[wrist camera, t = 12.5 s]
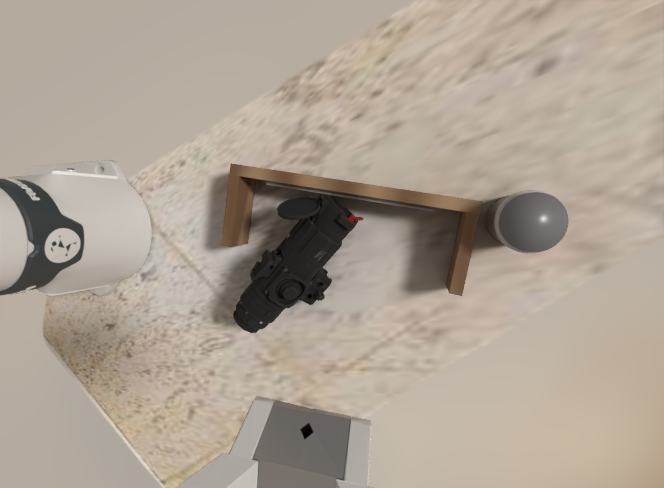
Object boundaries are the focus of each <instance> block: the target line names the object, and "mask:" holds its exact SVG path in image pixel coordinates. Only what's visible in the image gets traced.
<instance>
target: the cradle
mask: <svg viewBox="0 0 664 488" xmlns="http://www.w3.org/2000/svg"><path fill="white" fill-rule="evenodd" d="M256 179H258V180H265V181H266V185H272V186H278V187H284V188H290V189H296V190H303V191H309V192H315V193H321V194H327V195H333V196H340V197H346V198H352V199H358V200H364V201H371V202H377V203H383V204H389V205H395V206H401V207H408V208H414V209H420V210H426V211H432V212H433V209H434V207H435V208H441V209H447V210H453V211H460V212H462V213H461V217H460V222H459V227H458V231H457V236H456V241H455V246H454V250H453V255H452V260H451V264H450V269H449V274H448V279H447V283H446V285H447V288H448V291H449V293H451V294H456V295H460V296H462V293H463V289H464V284H465V280H466V275H467V271H468V266H469V262H470V257H471V253H472V248H473V243H474V239H475V234H476V230H477V225H478V221H479V216H480V212H481V207H482V201H476V200H469V199H462V198H456V197H449V196H442V195H436V194H429V193H422V192H416V191H409V190H403V189H396V188H389V187H383V186H376V185H369V184H363V183H356V182H349V181H343V180H336V179H329V178H323V177H316V176H310V175H303V174H296V173H290V172H283V171H276V170H270V169H263V168H256V167H250V166H243V165H236V164H231V166H230V175H229V184H228V192H227V201H226V210H225V218H224V227H223V236H222V244H221V245H224V246H229V247H233V246H238V245H243V244H248V238H249V230H250V222H251V214H252V206H253V198H254V190H255V182H256Z"/></svg>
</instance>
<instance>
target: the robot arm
mask: <svg viewBox="0 0 664 488" xmlns="http://www.w3.org/2000/svg"><path fill="white" fill-rule="evenodd" d="M103 169H104V171H103ZM151 236H152V231H151V222H150V218H149V214H148V211H147V208H146V206H145V204H144V202H143V200H142V199H141V197H140V196H139V194H138V193H137V192H136V191H135V190H134V189H133V188H132V187H131V186H130V185H129V183H128V182H127V181H126V179H125V176H124V174H123V171H122V169H121V167H120V165H119V164H118V163H117V162H116V161H112V160H104V161H92V162H79V163H67V164H55V165H43V166H33V167H31V168H30V169H29V170H28V172H27V174H26V176H16V177H8V178H3V177H0V295H5V294H17V293H22V292H26V291H29V290H33V289H38V290H39V291H41V292H44V293H46V294H47V295H49V296H54V295H61V294H67V293H73V292H79V291H84V290H88V291H90V292H92V293H94V294H96V295H98V296H104V295H109V294H110V293H111V292H112V291H113V290H114V289H115V287H116V286H117V284H118V283H119V282H121V281H122V280H124V279H126V278H128V277H130V276H132V275H133V274H134V273H136V272H137V271H138V270H139V269H140V267H141V266H142V265H143V263H144V262H145V260H146V258H147V255H148V253H149V249H150V245H151ZM371 426H372V424H371V421H370V420H366V419H361V418H356V417H352V416H348V415H343V414H338V413H333V412H328V411H323V410H318V409H310V408H306V407H302V406H298V405H294V404H290V403H285V402H281V401H277V400H272V399H268V398H264V397H259V396H257V397H256V398H255V399H254V401H253V402H252V405H251V407H250V409H249V411H248V413H247V415H246V418H245V420H244V422H243V424H242V426H241V428H240V431H239V433H238V435H237V437H236V439H235V441H234V444H233V446H232V448H231V450H230V452H229V454H227V453H222V454H220V455H219V456H218V457H216V458H215V459H214V460H212V461H211V462H210V463H208V464H207V465H206V466H204V467H203V468H202V469H200V470H199V471H198V472H196V473H195V474H194V475H192V476H191V477H190V478H188V479H187V480H186V481H184V482H183V483H182V484H180V485H179V486H177V487H176V488H373V487H369V486H368V484H369V465H370V445H371Z"/></svg>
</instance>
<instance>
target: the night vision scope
mask: <svg viewBox="0 0 664 488" xmlns="http://www.w3.org/2000/svg"><path fill="white" fill-rule="evenodd" d="M277 211H278V215H279V216H280V217H282V218H283V219H290V220H297V219H300V221H299V222H298V223H297V224H296V226H295V227H294V228H293V229H292V230H291V232H290V233H289V235H288V236H287V237H286V238H285V239H284V241H283V242H282V243H281V244H280V245H279V247H278V248H277V249H276V250H273V251H272V252H269V251H268V250H266V251H265V252H264V253H263V255H262V261H261V263H260V262H257V263H256V264H255V266H254V267H253V269H252V271H251V273H250V275H251V279H252V280H253V282H252V283H251V284H250V285H249V287H248V288H247V289H246V290H245V291H244V293H243V294H242V295H241V297H240V301H239V302H238V304H237V305H236V310H235V311H234V314H233V316H234V320H235V321H236V323H237V324H238V325H239V326H240V327H241V328H242V329H243V330H245V331H248V332H250V333H256V332H257V331H258V330H259V329H263V328H265V327H266V326H267V325H268V324H269V323H272V322H273V321H274V320H275V319H276V318H277V317H278V316H279V314H280V313H281V312H282V311H283V310H284V309H285V308H290V307H291V306H293V305H294V304H295V303H296V302H297V301H298V300H299V299H300V300H302V301H304V302H306V303H308V304H310V305H311V304H313V303H314V302H315V301H316V300H317V299H318V300H323V299H324V298H325V297H324V294H323V292H324V291H325V290H326V289H327V288H328V287H329V286H330V284H331V282H332V280H331V278H330V279H329V278H328V277H327V275H326V274H327V273H328V272H327V271H326V270H325V269H323V268H322V267H323V266H324V265H325V264H326V263H327V261H328V260H329V259H330V258H331V257H332V256H333V255H334V253H335V252H336V251H337V250H338V249H339V248H340V247H341V244H342V242H341V241H342V240H343V239H344V238H345V237H346V236H347V234H348V233H349V232H350V231H352V229H353V228H354V227H355V226H356V224H357V222H358V220H363V218H362V217H355V216H354V215H353V214H352V213H351V212H350V211H349V210H348V209H347V208H346V207H345V206H343V205H342V204H341V203H340V202H339V201H337V200H336V199H334V198H333V197H332V196H329V195H327V196H324V195H322V194H320V196H319V197H318V200H316V199H314V198H310V197H298V198H293V199H290V200H287V201H284V202H283V203H281V204H280V205H279V206H278V208H277Z"/></svg>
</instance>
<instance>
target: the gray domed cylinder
mask: <svg viewBox="0 0 664 488" xmlns="http://www.w3.org/2000/svg"><path fill="white" fill-rule="evenodd" d="M486 225H487V229H488V231H489V232H490V234H491V235H492V236H493V237H494V238H495V239H496V240H498V241H500V242H502V243H503V244H505V245H506V246H507V247H509V248H511V249H513V250H516V251H518V252H522V253H537V252H541V251H545V250H548V249H550V248H552V247H553V246H555V245H556V244H557V243H559V242H560V240H561V239H562V238H563V237H564V235H565V233H566V231H567V227H568V215H567V211H566V209H565V207H564V206H563V204H562V203H561V202H560V201H559V200H558V199H556V198H555V197H553V196H552V195H550V194H548V193H545V192H542V191H536V190H529V191H522V192H518V193H515V194H513V195H510V196H506V197H503V198H501V199H499V200H497V201H496V202H495V203H494V204H493V205H492V206H491V207H490V209H489V210H488V213H487V216H486Z"/></svg>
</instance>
